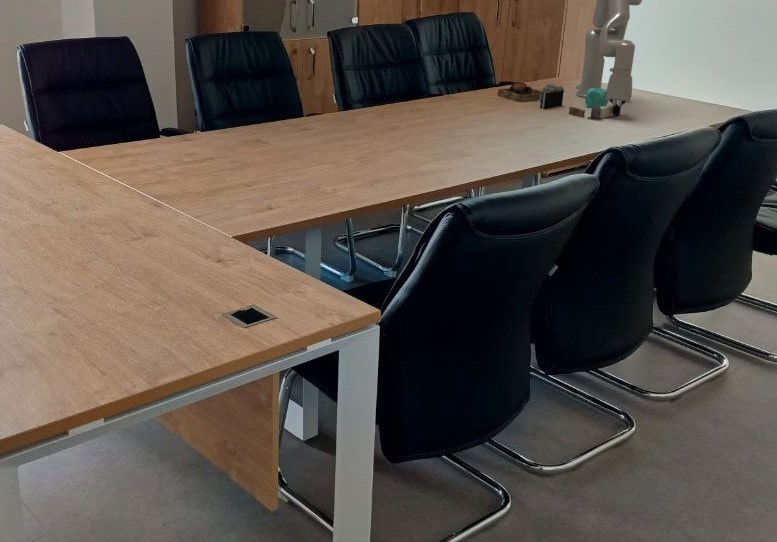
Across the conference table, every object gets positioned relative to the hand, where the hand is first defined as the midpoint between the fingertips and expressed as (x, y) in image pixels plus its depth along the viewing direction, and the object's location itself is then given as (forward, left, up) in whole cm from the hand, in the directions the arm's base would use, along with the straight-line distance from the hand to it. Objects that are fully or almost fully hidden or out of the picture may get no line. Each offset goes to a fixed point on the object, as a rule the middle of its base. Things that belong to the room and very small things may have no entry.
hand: (615, 115), depth 393 cm
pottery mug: (-49, -12, -2) cm, 50 cm away
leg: (-4, -1, -1) cm, 4 cm away
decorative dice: (-21, +9, -2) cm, 23 cm away
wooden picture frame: (-49, -10, -1) cm, 50 cm away
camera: (-29, -12, -2) cm, 32 cm away
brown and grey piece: (-6, -11, -1) cm, 13 cm away
